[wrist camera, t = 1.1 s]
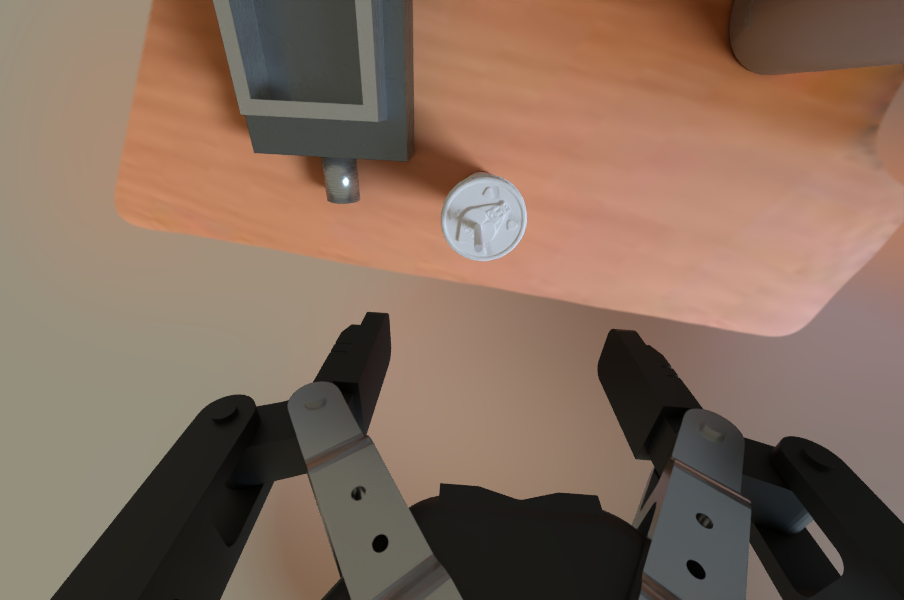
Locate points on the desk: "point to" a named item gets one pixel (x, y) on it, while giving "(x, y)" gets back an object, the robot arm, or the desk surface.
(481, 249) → the smoothie
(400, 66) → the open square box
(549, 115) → the desk surface
